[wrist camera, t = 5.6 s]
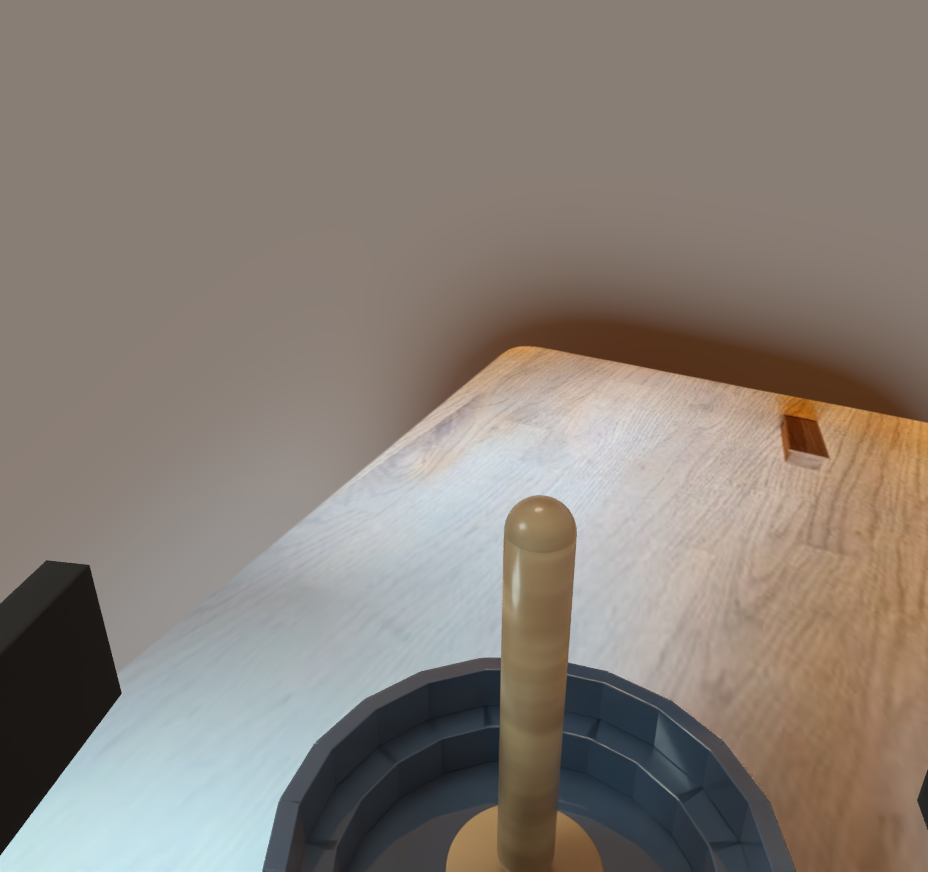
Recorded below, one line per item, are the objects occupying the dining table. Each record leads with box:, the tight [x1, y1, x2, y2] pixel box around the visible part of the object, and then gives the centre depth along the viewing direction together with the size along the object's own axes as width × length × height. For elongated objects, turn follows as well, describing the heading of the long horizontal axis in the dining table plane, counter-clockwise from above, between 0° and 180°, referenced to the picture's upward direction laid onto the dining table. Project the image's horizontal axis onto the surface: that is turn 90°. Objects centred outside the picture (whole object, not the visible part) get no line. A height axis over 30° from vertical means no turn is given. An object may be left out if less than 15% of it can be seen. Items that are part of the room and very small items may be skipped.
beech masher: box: [446, 495, 604, 872], centre depth 27 cm, size 6×6×18 cm
